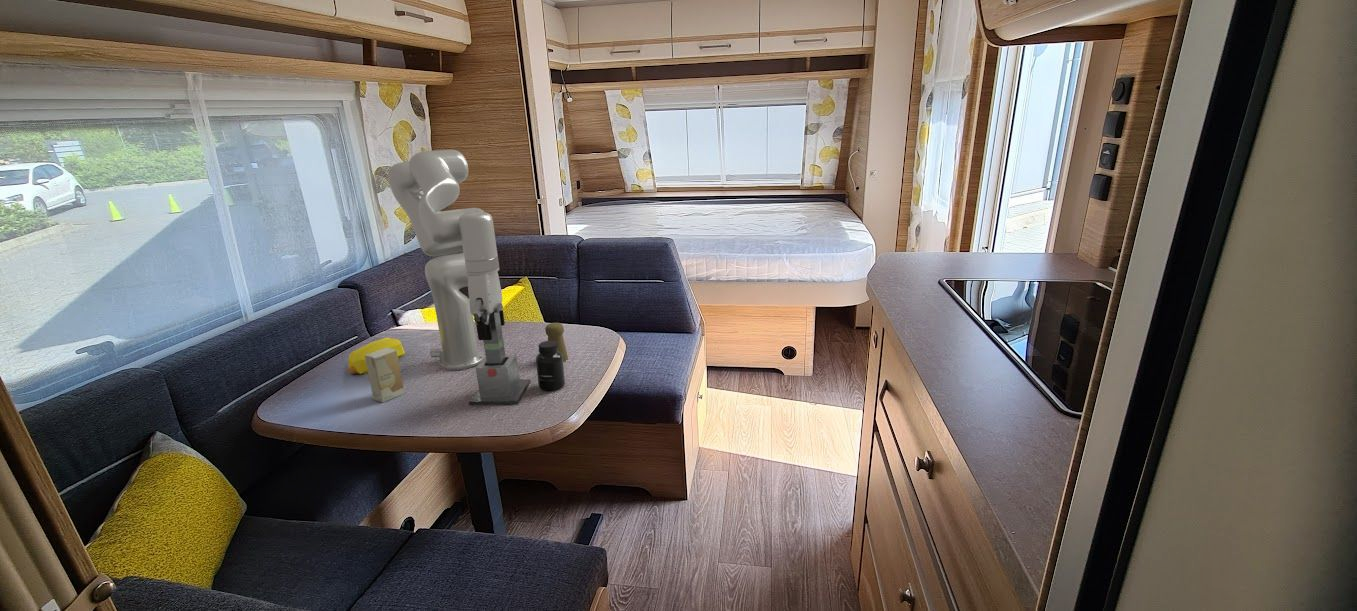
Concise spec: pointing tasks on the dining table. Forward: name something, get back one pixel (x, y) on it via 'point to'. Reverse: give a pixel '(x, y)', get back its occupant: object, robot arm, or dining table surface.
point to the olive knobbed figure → (557, 337)
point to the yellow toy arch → (358, 356)
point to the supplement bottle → (550, 367)
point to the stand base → (499, 383)
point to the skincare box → (384, 374)
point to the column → (495, 340)
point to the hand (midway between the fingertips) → (492, 332)
